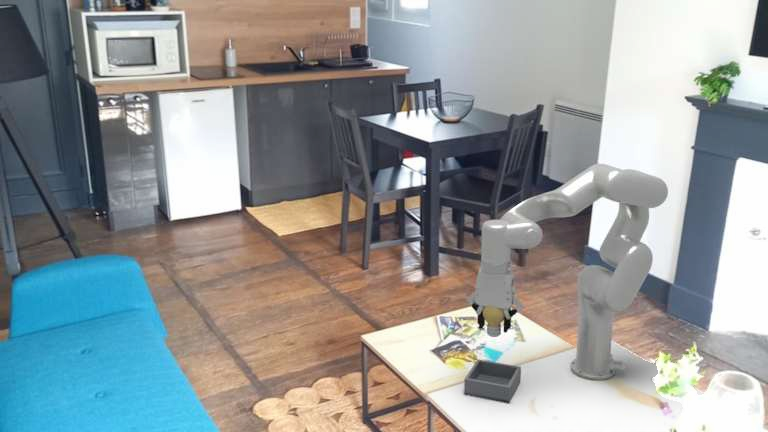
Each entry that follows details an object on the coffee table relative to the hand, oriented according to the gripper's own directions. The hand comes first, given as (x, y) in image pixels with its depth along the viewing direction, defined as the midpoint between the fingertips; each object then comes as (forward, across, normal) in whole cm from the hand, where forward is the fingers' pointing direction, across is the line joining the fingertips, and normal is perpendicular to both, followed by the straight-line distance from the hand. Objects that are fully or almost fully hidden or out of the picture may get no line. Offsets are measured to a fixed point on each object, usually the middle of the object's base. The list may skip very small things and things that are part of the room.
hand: (494, 328), depth 197 cm
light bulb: (+2, 0, 0) cm, 2 cm away
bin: (+18, 0, 0) cm, 18 cm away
